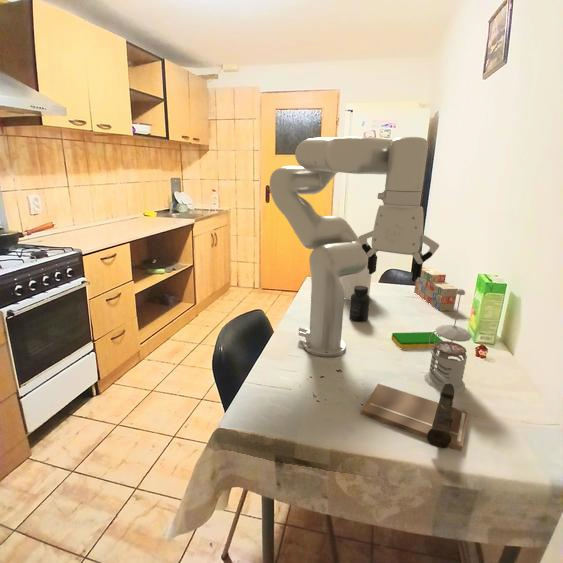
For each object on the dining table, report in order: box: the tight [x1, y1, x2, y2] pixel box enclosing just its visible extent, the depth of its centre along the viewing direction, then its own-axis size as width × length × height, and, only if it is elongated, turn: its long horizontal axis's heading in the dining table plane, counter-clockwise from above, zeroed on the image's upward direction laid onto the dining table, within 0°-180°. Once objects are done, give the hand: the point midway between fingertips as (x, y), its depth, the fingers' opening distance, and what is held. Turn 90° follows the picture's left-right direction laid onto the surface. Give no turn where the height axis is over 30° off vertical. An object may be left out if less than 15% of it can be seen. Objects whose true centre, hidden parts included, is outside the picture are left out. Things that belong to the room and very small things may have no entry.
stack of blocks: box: [413, 266, 459, 312], centre depth 146 cm, size 21×6×12 cm, turn 6°
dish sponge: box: [391, 331, 444, 350], centre depth 111 cm, size 7×14×2 cm, turn 95°
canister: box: [339, 264, 372, 301], centre depth 151 cm, size 14×14×20 cm
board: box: [360, 383, 469, 452], centre depth 77 cm, size 20×12×1 cm, turn 58°
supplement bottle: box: [348, 286, 371, 323], centre depth 127 cm, size 7×7×12 cm
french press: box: [423, 288, 472, 394], centre depth 88 cm, size 10×12×25 cm
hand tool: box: [426, 384, 455, 450], centre depth 74 cm, size 19×4×5 cm, turn 148°
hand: (392, 276), depth 81 cm, fingers open, 9 cm apart
